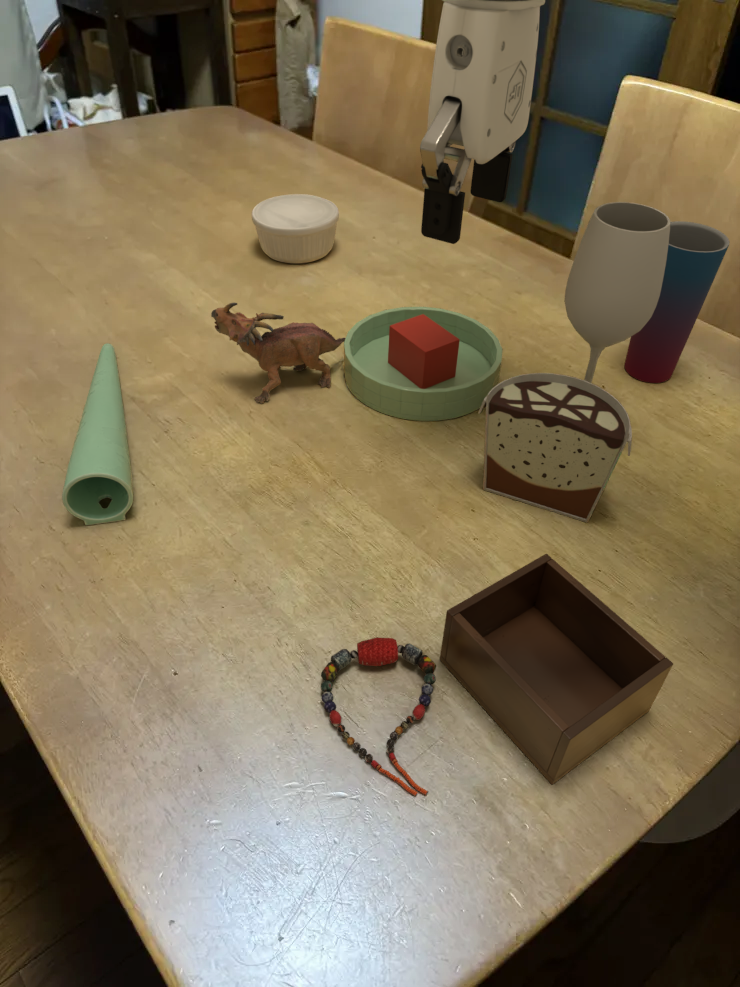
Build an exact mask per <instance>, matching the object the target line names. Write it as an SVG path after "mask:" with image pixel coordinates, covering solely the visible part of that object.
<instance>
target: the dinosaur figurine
mask: <svg viewBox="0 0 740 987" xmlns="http://www.w3.org/2000/svg"><path fill="white" fill-rule="evenodd" d="M235 306H238V302H230V303H228V304H226V305H225V306H224V307H217V308H215V309H213V310H212V311H211V312H210V313H211V314H210V316H211V318H213V319H214V320H215V321H214V324H215V325H214V328H215V330H216V332H217V333H219V334H222V335H224V336H227V337H228V338H229V339H228V340H229V341H233V342H234V343H236V346H239V348H240V349H241V351H242V352H243V353H246V354H247V355H249V356H250V357H252V359H254V360H256V361H257V362H258V366H259V367H260V368H261V370H262V371H264V372H267V378H268V381H267V384H266V385H265V386H264V387H262V388H261V393H260V394H259V395H258V396H255V397H254V400H255V401H256V403H260V404H264V403H265V402H268V401H269V400H270V398H271V395H270V392H271V390H274V389H275V388H277V387H279V386H281V384H282V380H281V378H280V373H279V370H281V367H282V368H283V367H285V368H289V367H293V371H295V372H296V371H298V372H301V371H303V370H304V371H305V370H306V369H307V368H308V369H310V370H315V371H317V372H321V376H320V378H319V379H318V381H317V385H320V387H321V388H325V387H327V388H330V387H331V386H332V385H331V384H332V378H331V366H330V365H329V364H328V363H325V361H324V360H323V359H321V358H320V356H321V355H324V354H327V353H330V352H334V351H336V350H337V349H338V348H339V347H340V346H341V345H342V343H344V341H345V338H346V337H339V338H337V339H336V338H335V336H333V335H332V334H331V333H330V331H327V330H326V329H324V328H320V327H319V326H318V325H316V324H315V323H314V322H290V323H288V324H287V325H284V326H280V327H276V328H273V327H272V326H271V325H269V324H268V323H266V322H263V321H264V320H275V321H276V320H284V317H285V315H281V314H275V313H269V312H268V313H267V312H261V313H259V314H258V313H255V316H254V317H247V316H246V315H245V314H243V313H241V312H240V311H239V312H231V309H232V308H234V307H235ZM257 328H263V329H266V330H269V331H265V332H264V333H263V334H262V335H261V333H260V332H259V331H258V329H257Z"/></svg>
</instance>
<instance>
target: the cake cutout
mask: <svg viewBox="0 0 740 987" xmlns="http://www.w3.org/2000/svg"><path fill="white" fill-rule="evenodd" d="M484 409H485V424H484V425H485V427H484V452H483V454H484V456H483V479H482V480H483V481H482V482H483V483H482V490H483V491H486V492H489V493H492V494H495V495H498V496H500V497H501V496H502V497H505V498H508V499H511V500H514V501H517V502H520V503H524V504H526V505H530V506H533V507H535V508H540V509H543V510H545V511H549V512H552V513H555V514H559V515H561V516H565V517H567V518H571V519H574V520H577V521H581V522H583V523H587V524H588V523H589V521H590V519H591V516H592V515H593V513H594V511H595V509H596V507H597V504H598V503H599V500H600V498H601V496H602V494H603V492H604V490H605V488H606V486H607V484H608V482H609V480H610V478H611V476H612V474H613V471H614V470H615V468H616V465H617V463H618V461H619V459H620V458H621V456H622V453H623V451H624V449H625V448H626V445H627V444H628V445H627V457H630V456H631V451H632V443H633V442H632V440H633V430H632V425H631V419H630V416H629V414H628V411H627V410H626V408H625V407H624V405H623V404H622V403H621V402H620V401H619V400H618V398H616V397H615V396H614V395H612V393H610V392H608V391H607V390H605V389H604V388H602V387H601V386H598V385H596V384H594V383H593V382H592V383H590V382H587V381H585V380H584V379H581V378H578V377H576V376H575V377H574V376H571V375H566V374H562V373H561V374H560V373H553V372H532V373H524V374H518V375H515V376H511V377H509V378H507V379H503V381H501V382H498V384H497V385H496V386H495V387H494V388H492V389H491V391H490V392H489V393H488V395H487V396H486V397H485V399H484V400H483V402H482V405H481V407H480V408H479V409H478V413H477V414H481V413H482V412H483V410H484Z"/></svg>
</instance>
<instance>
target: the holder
mask: <svg viewBox="0 0 740 987" xmlns="http://www.w3.org/2000/svg"><path fill="white" fill-rule="evenodd" d="M443 626H444V627H443V634H442V640H441V647H440V653H439V654H440V655H439V660H440V662H441V663H442V664H443V665H444V666H445V667H446V668H447V670H448V671H449V672H450V673H451V674H452V675H453V676H454V677H455V678H456V680H457V681H458V682H459V683H460V684H461V685H462V686H463V687H464V688H465V689H466V691H467V692H468V693H469V694H470V695H471V696H472V698H474V700H475V701H476V702H477V703H478V704H479V705H480V706H481V707H482V709H483V710H484V711H485V712H486V713H487V715H489V717H490V718H491V719H492V720H493V721H494V722H495V723H496V724H497V725H498V726H499V727H500V729H501V730H502V731H503V732H504V733H505V734H506V736H508V738H509V739H510V740H511V742H513V743H514V745H516V746H517V748H519V750H520V751H521V752H522V753H523V754H524V755H525V757H526V758H527V759H528V760H529V761H530V762H531V763H532V764H533V766H534V767H535V768H536V769H537V770H538V771H539V772H540V773H541V774H542V775H543V777H544V778H545V779H546V780H547V781H548V782H549V783H550V784H551V785H554V784H555V783H557V782H558V781H559V780H560V779H562V778H563V777H564V776H566V775H567V774H569V772H571V771H572V770H574V769H575V768H576V767H578V766H579V765H580V764H582V763H583V762H584V761H585V760H587V759H588V758H589V757H591V756H592V755H593V754H595V753H596V752H597V751H598V750H600V749H601V748H603V747H604V746H606V745H607V744H608V743H609V742H611V741H612V740H613V739H614V738H616V737H617V736H618V735H619V734H621V733H622V732H623V731H625V730H626V729H627V728H629V727H630V726H632V725H633V724H634V723H635V722H637V721H638V720H640V718H642V717H643V716H644V715H646V714H647V713H649V712H650V709H651V708H652V707H653V704H654V702H655V700H656V699H657V696H658V695H659V693H660V691H661V689H662V687H663V685H664V683H665V681H666V680H667V678H668V675H669V674H670V672H671V670H672V667H673V666H674V662H672V661H671V660H670V659H669V658H668V657H667V656H666V655H665V654H663V653H662V652H661V651H659V649H658V648H656V647H655V646H654V645H653V644H652V643H651V642H650V641H648V640H647V639H646V638H645V637H644V636H642V635H641V634H640V633H639V632H638V631H637V630H636V629H634V628H633V627H632V626H631V625H630V624H629V623H627V622H626V621H625V620H624V619H623V618H622V617H620V616H619V615H618V613H616V612H615V611H613V609H611V608H610V607H609V606H608V605H607V604H605V603H604V602H603V600H601V599H600V598H598V597H597V595H595V594H594V593H593V592H592V591H590V590H589V589H588V588H587V587H586V586H585V585H584V584H582V583H581V582H580V581H579V580H578V579H577V578H575V576H573V575H572V574H571V573H570V572H568V571H567V570H566V569H565V568H564V567H562V565H561V564H560V563H559V562H557V561H556V560H555V559H553V557H551V556H550V554H548V553H545V554H543V555H540V556H539V557H538V558H536V559H534V560H532V561H531V562H529V563H527V564H526V565H524V566H522V567H520V568H519V569H517V570H515V571H513V572H511V573H510V574H507V575H506V576H505V577H502V578H501V579H499V580H497V581H496V582H494V583H492V584H491V585H489V586H487V587H485V588H483V589H482V590H479V591H478V592H477V593H475V594H473V595H472V596H469V597H468V598H466V599H464V600H463V601H461V602H459V603H457V604H456V605H454V606H452V607H450V608H449V609H447V610H446V614H445V620H444V625H443Z"/></svg>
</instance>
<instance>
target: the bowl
mask: <svg viewBox="0 0 740 987" xmlns="http://www.w3.org/2000/svg"><path fill="white" fill-rule="evenodd" d="M422 314H424V315H425V316H427V317H428V318H430V319H431V320H433V321H434V322H435V323H437V324H438V325H440V326H441V327H443V328H444V329H445V330H447V331H448V332H450V333H451V334H453V335H454V336H455V337H457V338H458V339H460V341H459V350H458V358H457V366H456V374H455V377H453V378H451V379H448V380H446V381H443V382H441V383H438V384H436V385H433V386H431V387H428V388H426V389H420V388H419V387H418V386H417V385H415V384H414V383H413V382H412V381H410V380H409V379H408V378H407V377H405V376H404V375H403V374H402V373H400V372H399V371H398V370H396V369H395V368H394V367H393V366H391V365H390V364H389V363H388V349H389V327H390V325H393V324H396V323H399V322H401V321H404V320H407V319H410V318H413V317H416V316H419V315H422ZM344 338H345V341H344V342H343V375H344V376H343V377H344V380H345V384H346V386H347V388H348V389H349V391H350V393H351V394H352V395H353V396H354V398H356V399H357V400H358V401H360V402H361V403H363V404H364V405H365V406H367V407H368V408H370V409H372V410H374V411H377V412H378V413H381V414H384V415H387V416H389V417H393V418H396V419H397V418H398V419H403V420H407V421H408V420H409V421H416V422H417V421H419V422H438V421H446V420H453V419H457V418H460V417H463V416H466V415H469V414H471V413H473V412H475V411H477V410H480V407H481V405H482V402H483V400H484V399H485V397H486V396H487V395H488V393H489V392H490V391H491V389H492V388H494V387H495V386H496V385H497V384H499V381H500V380H499V379H500V375H501V368H502V363H503V362H502V361H503V350H504V349H503V347H502V344H501V342H500V339H499V338H498V337H497V335H495V333H494V332H493V331H492V330H491V329H490V328H489V327H488V326H486V325H484V324H483V323H482V322H480V321H479V320H477V319H475V318H473V317H470V316H468V315H465V314H463V313H461V312H457V311H453V310H449V309H445V308H441V307H432V306H401V307H400V306H399V307H395V308H388V309H384V310H381V311H378V312H375V313H371V314H369V315H367V316H366V317H364V318H361V319H360V320H358V321H357V322H356V323H355V324H354V325H353V326H352V327H351V328H350V329H349V330H348V331H347V333H346V335H345V337H344Z"/></svg>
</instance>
